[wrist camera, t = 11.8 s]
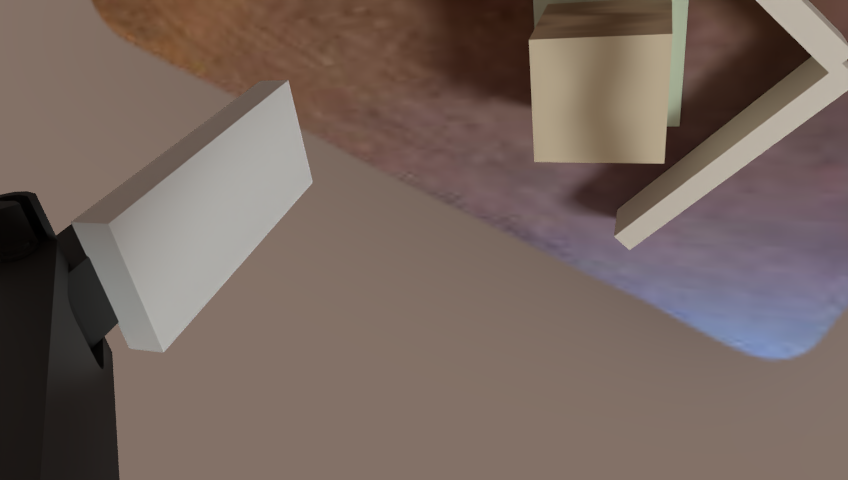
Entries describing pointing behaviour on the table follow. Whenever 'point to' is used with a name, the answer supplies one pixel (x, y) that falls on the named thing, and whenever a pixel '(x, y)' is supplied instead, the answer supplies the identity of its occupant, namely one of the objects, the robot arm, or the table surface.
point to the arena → (747, 130)
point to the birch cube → (601, 81)
